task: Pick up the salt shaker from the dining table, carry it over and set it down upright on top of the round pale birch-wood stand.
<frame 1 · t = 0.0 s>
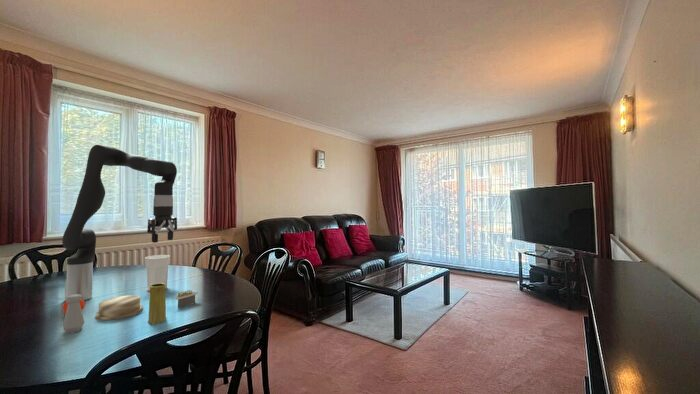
hand: (162, 241, 135), 29 cm above the table, tool pointing down, fingers open, 8 cm apart
platform: (185, 306, 137), on the table
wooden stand: (119, 312, 127), on the table
cup: (157, 289, 159), on the table
vase: (157, 321, 119), on the table
clementine: (74, 314, 125), on the table
salt shaker: (73, 331, 109), on the table
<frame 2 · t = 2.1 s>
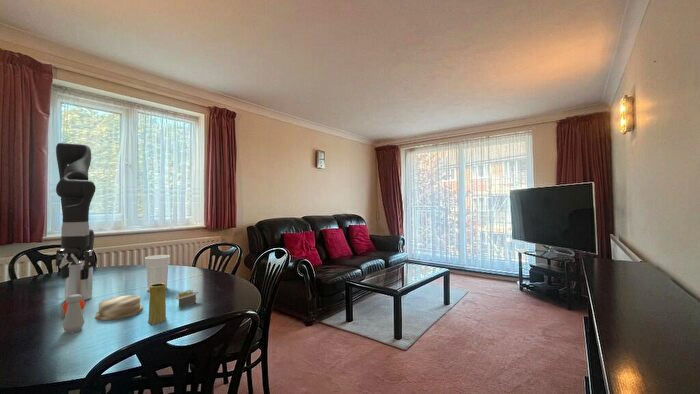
hand: (74, 278, 109), 19 cm above the table, tool pointing down, fingers open, 8 cm apart
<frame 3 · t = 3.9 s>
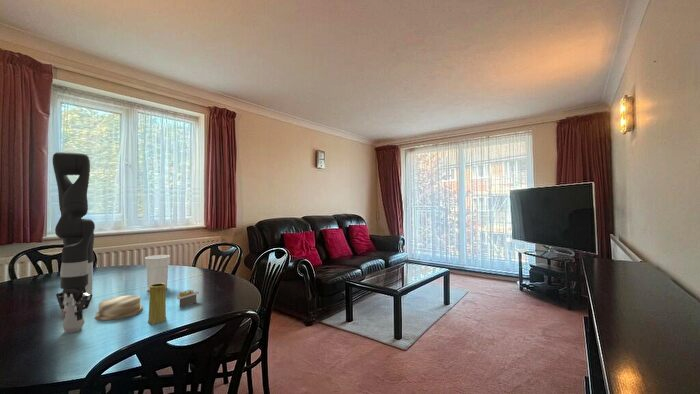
hand: (73, 320, 109), 4 cm above the table, tool pointing down, fingers closed on salt shaker, 3 cm apart
salt shaker: (73, 331, 109), on the table, touching gripper
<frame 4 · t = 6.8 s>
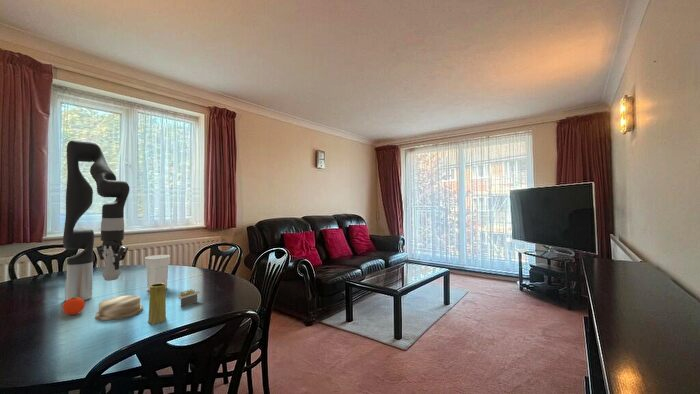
hand: (111, 270, 123), 19 cm above the table, tool pointing down, fingers closed on salt shaker, 3 cm apart
salt shaker: (111, 279, 123), point 15 cm above the table, touching gripper
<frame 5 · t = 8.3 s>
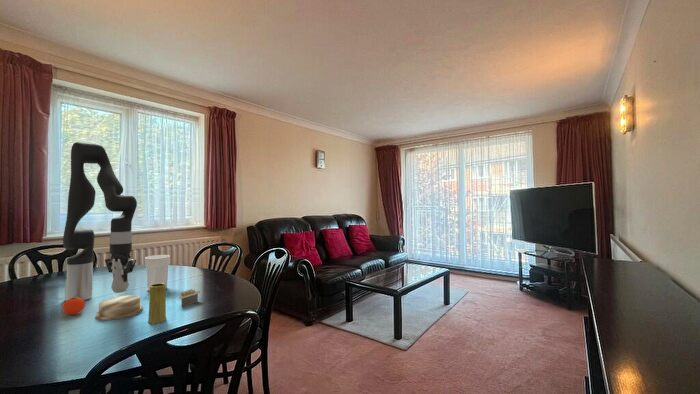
hand: (120, 282, 127), 13 cm above the table, tool pointing down, fingers closed on salt shaker, 3 cm apart
salt shaker: (120, 291, 127), point 9 cm above the table, touching gripper
when the fingers open (10 cm above the table, at t = 9.5 s): salt shaker drops 1 cm, resting on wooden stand.
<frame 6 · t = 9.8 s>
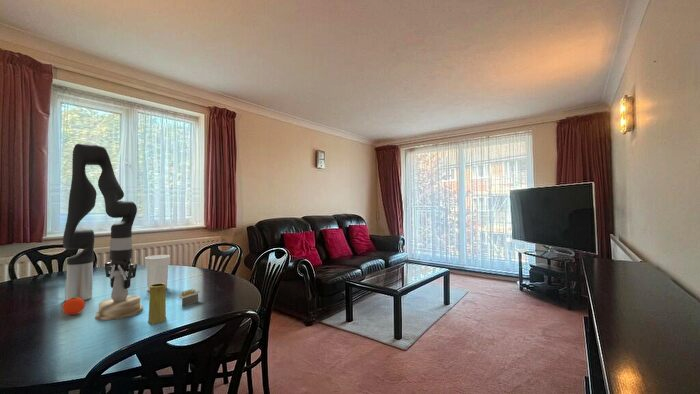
hand: (120, 287, 127), 11 cm above the table, tool pointing down, fingers open, 6 cm apart
salt shaker: (120, 301, 127), point 5 cm above the table, touching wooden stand
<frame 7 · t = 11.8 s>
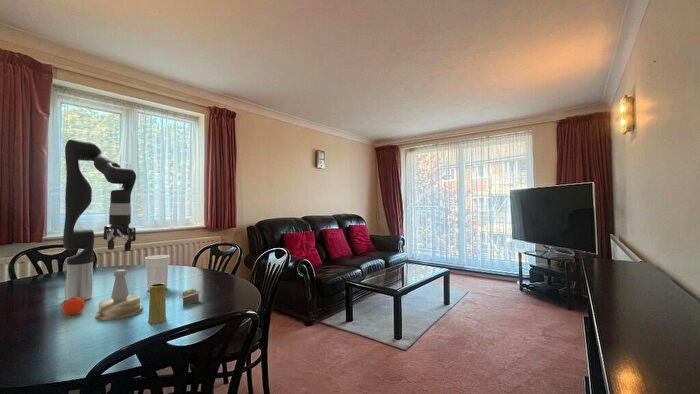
hand: (119, 250, 131), 26 cm above the table, tool pointing down, fingers open, 8 cm apart
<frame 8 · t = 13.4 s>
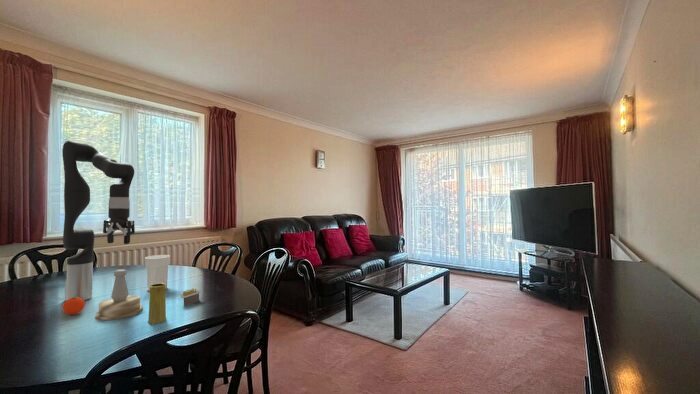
hand: (118, 243, 134), 28 cm above the table, tool pointing down, fingers open, 8 cm apart
at the end: salt shaker inside the target area on the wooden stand (0.1 cm from its centre), point 4.8 cm above the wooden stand's base; salt shaker tilted 0°; the gripper is holding nothing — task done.
